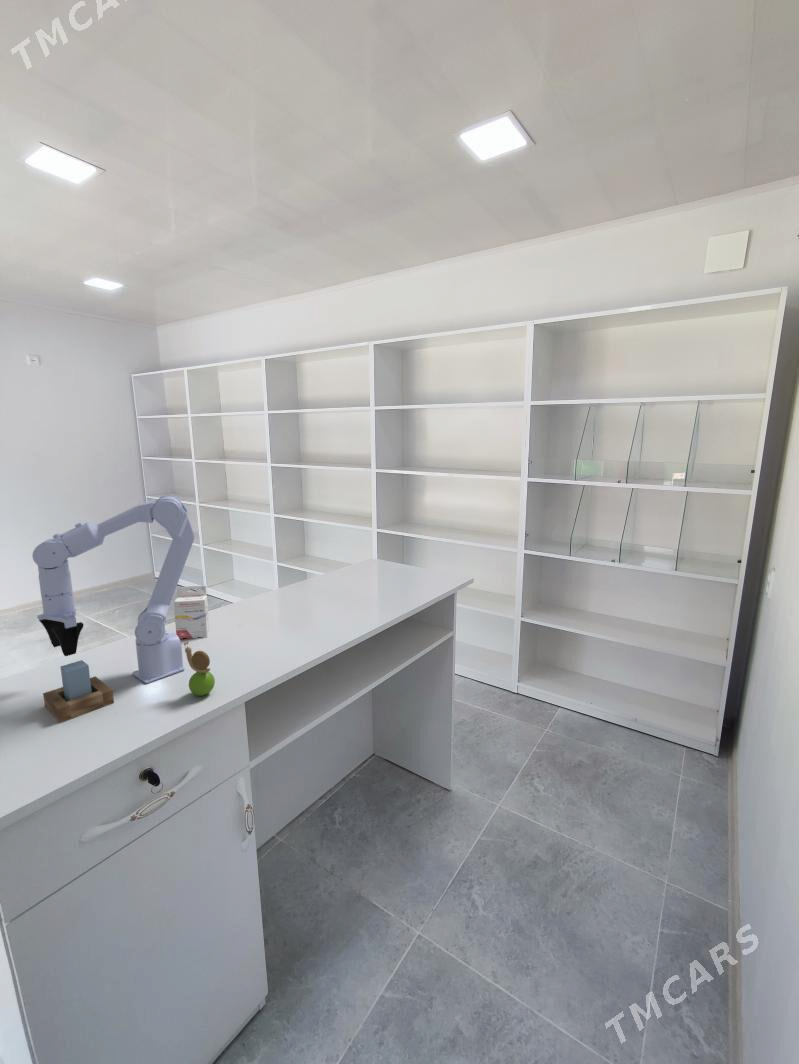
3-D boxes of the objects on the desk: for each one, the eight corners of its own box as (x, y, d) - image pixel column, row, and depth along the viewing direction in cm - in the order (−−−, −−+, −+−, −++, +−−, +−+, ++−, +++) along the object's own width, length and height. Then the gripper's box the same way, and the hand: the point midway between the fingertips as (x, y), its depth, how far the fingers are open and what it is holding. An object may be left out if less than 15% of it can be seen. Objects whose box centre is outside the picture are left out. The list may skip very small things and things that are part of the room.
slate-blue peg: (86, 698, 105) (81, 660, 104) (93, 704, 103) (88, 665, 101) (65, 705, 102) (60, 666, 101) (71, 711, 100) (66, 672, 98)
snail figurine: (197, 686, 111) (193, 637, 108) (220, 690, 109) (217, 640, 107) (180, 697, 105) (176, 646, 103) (204, 702, 104) (200, 650, 102)
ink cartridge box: (176, 640, 137) (172, 591, 135) (179, 634, 142) (175, 586, 139) (207, 637, 139) (204, 589, 137) (210, 631, 144) (206, 584, 141)
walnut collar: (96, 688, 109) (95, 676, 109) (114, 702, 103) (112, 690, 103) (44, 706, 102) (43, 693, 101) (60, 722, 96) (58, 709, 95)
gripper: (25, 590, 107) (33, 647, 109) (45, 603, 98) (53, 665, 100) (62, 584, 112) (69, 638, 115) (84, 595, 103) (91, 654, 106)
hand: (64, 650), depth 108 cm, fingers open, 7 cm apart
